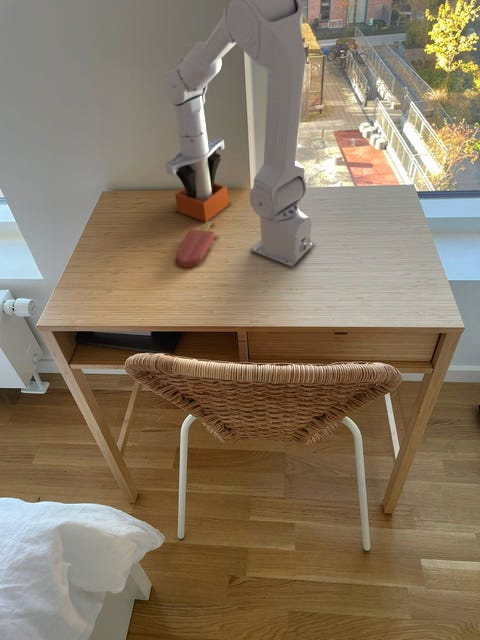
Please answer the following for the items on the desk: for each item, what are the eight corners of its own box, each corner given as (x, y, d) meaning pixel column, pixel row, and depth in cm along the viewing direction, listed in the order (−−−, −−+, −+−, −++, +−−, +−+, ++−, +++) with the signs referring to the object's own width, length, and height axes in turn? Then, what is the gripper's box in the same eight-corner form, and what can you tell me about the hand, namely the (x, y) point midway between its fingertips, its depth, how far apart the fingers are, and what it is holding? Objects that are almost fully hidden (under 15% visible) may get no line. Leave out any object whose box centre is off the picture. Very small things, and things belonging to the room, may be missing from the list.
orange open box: (228, 204, 111) (226, 186, 108) (206, 222, 107) (203, 204, 104) (201, 194, 115) (198, 177, 112) (178, 211, 111) (174, 193, 108)
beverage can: (216, 206, 109) (209, 156, 101) (195, 212, 108) (187, 162, 100) (209, 196, 112) (202, 146, 104) (189, 201, 111) (181, 152, 103)
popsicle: (220, 219, 104) (196, 263, 95) (221, 226, 106) (197, 269, 96) (197, 217, 106) (171, 260, 96) (198, 223, 107) (172, 266, 97)
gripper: (205, 113, 104) (213, 172, 113) (151, 138, 97) (164, 198, 107) (228, 122, 100) (234, 181, 110) (173, 148, 93) (184, 209, 103)
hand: (201, 190), depth 108 cm, fingers closed on beverage can, 5 cm apart
